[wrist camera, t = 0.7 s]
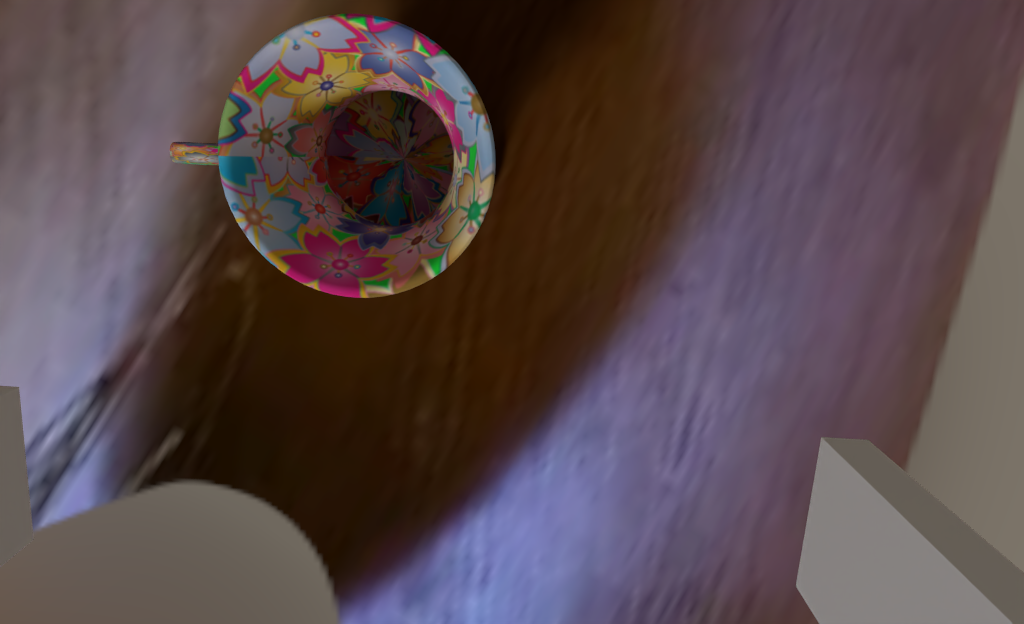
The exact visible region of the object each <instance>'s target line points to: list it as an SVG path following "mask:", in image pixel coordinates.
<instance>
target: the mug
mask: <svg viewBox="0 0 1024 624" xmlns="http://www.w3.org/2000/svg"><path fill="white" fill-rule="evenodd" d="M170 156H171V159H172V161H173V162H175V163H183V164H200V165H219V170H220V175H221V180H222V185H223V188H224V192H225V195H226V198H227V201H228V203H229V206H230V208H231V211H232V213H233V215H234V217H235V219H236V221H237V222H238V224H239V226H240V227H241V229H242V230H243V232H244V234H245V235H246V236H247V238H248V239H249V240H250V242H251V243H252V244H253V245H254V246H255V248H256V249H257V250H258V251H259V252H260V253H261V254H262V255H263V256H264V257H265V258H266V259H267V260H268V261H269V262H270V263H272V264H273V265H274V266H275V267H277V268H278V269H279V270H281V271H282V272H283V273H285V274H286V275H288V276H290V277H291V278H293V279H295V280H297V281H298V282H300V283H302V284H304V285H306V286H309V287H312V288H314V289H317V290H319V291H323V292H326V293H330V294H334V295H339V296H345V297H356V298H371V297H381V296H387V295H392V294H397V293H400V292H403V291H406V290H409V289H412V288H414V287H416V286H419V285H421V284H423V283H425V282H426V281H428V280H430V279H432V278H433V277H435V276H436V275H438V274H439V273H441V272H442V271H443V270H445V269H446V268H447V267H448V266H449V265H451V264H452V263H453V262H454V261H455V260H456V259H457V258H458V257H459V256H460V255H461V254H462V252H463V251H464V250H465V249H466V247H467V246H468V245H469V244H470V242H471V241H472V239H473V238H474V236H475V235H476V233H477V231H478V229H479V227H480V225H481V224H482V222H483V220H484V217H485V214H486V212H487V209H488V207H489V203H490V200H491V196H492V191H493V186H494V180H495V168H496V163H495V145H494V138H493V133H492V128H491V124H490V121H489V118H488V114H487V111H486V109H485V107H484V104H483V102H482V99H481V97H480V95H479V94H478V92H477V90H476V88H475V86H474V85H473V83H472V82H471V80H470V79H469V77H468V76H467V74H466V73H465V72H464V70H463V69H462V68H461V67H460V65H459V64H458V63H457V62H456V61H455V60H454V59H453V58H452V57H451V56H450V55H449V54H448V53H447V52H446V51H445V50H444V49H443V48H441V47H440V46H439V45H438V44H437V43H435V42H434V41H432V40H431V39H429V38H428V37H427V36H425V35H424V34H422V33H420V32H418V31H416V30H414V29H413V28H411V27H408V26H406V25H403V24H401V23H399V22H396V21H393V20H389V19H386V18H382V17H377V16H372V15H364V14H337V15H328V16H324V17H319V18H315V19H312V20H309V21H306V22H303V23H300V24H298V25H296V26H294V27H292V28H290V29H288V30H286V31H284V32H283V33H281V34H279V35H278V36H276V37H275V38H273V39H272V40H271V41H270V42H268V43H267V44H266V45H265V46H263V47H262V48H261V49H260V50H259V51H258V52H257V53H256V54H255V55H254V56H253V57H252V59H251V60H250V61H249V62H248V63H247V64H246V66H245V67H244V69H243V70H242V72H241V73H240V75H239V76H238V78H237V80H236V82H235V83H234V85H233V87H232V89H231V91H230V94H229V96H228V99H227V101H226V104H225V107H224V111H223V114H222V119H221V123H220V129H219V139H218V143H191V142H173V143H172V144H171V146H170Z"/></svg>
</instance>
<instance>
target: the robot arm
mask: <svg viewBox="0 0 1024 624" xmlns="http://www.w3.org/2000/svg"><path fill="white" fill-rule="evenodd" d="M33 539H34V538H33V528H32V518H31V507H30V497H29V487H28V476H27V466H26V456H25V445H24V435H23V425H22V414H21V404H20V394H19V387H9V386H0V567H1V566H2V565H3V564H4V563H6V562H7V561H8V560H9V559H11V558H12V557H13V556H14V555H15V554H17V553H18V552H19V551H20V550H22V549H23V548H24V547H25V546H26V545H28V544H29V543H30V542H31V541H32V540H33ZM796 587H797V589H798V590H799V592H800V593H801V595H802V597H803V598H804V600H805V601H806V603H807V605H808V606H809V608H810V609H811V611H812V613H813V614H814V616H815V617H816V619H817V621H818V622H819V624H1024V573H1023V572H1022V571H1021V570H1020V569H1019V568H1018V567H1016V566H1015V565H1014V564H1013V563H1012V562H1010V561H1009V560H1008V559H1007V558H1006V557H1004V556H1003V555H1002V554H1001V553H1000V552H999V551H998V550H996V549H995V548H994V547H993V546H992V545H990V544H989V543H988V542H987V541H986V540H985V539H984V538H982V537H981V536H980V535H979V534H978V533H976V532H975V531H974V530H973V529H972V528H971V527H969V526H968V525H967V524H966V523H965V522H963V521H962V520H961V519H960V518H959V517H957V516H956V515H955V514H954V513H953V512H952V511H951V510H949V509H948V508H947V507H946V506H945V505H944V504H942V503H941V502H940V501H939V500H938V499H937V498H935V497H934V496H933V495H932V494H930V492H928V491H927V490H926V489H925V488H923V487H922V486H921V485H920V484H919V483H918V482H917V481H915V480H914V479H913V478H912V477H910V475H908V474H907V473H906V472H905V471H904V470H903V469H901V468H900V467H899V466H898V465H897V464H895V463H894V462H893V461H892V460H891V459H890V458H888V457H887V456H886V455H885V454H884V453H883V452H881V451H880V450H879V449H878V448H877V447H876V446H874V445H873V444H872V443H871V442H870V441H868V440H859V439H843V438H827V437H821V443H820V449H819V455H818V461H817V466H816V472H815V478H814V484H813V490H812V495H811V501H810V507H809V513H808V519H807V524H806V530H805V536H804V542H803V548H802V554H801V559H800V565H799V571H798V577H797V583H796Z"/></svg>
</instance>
